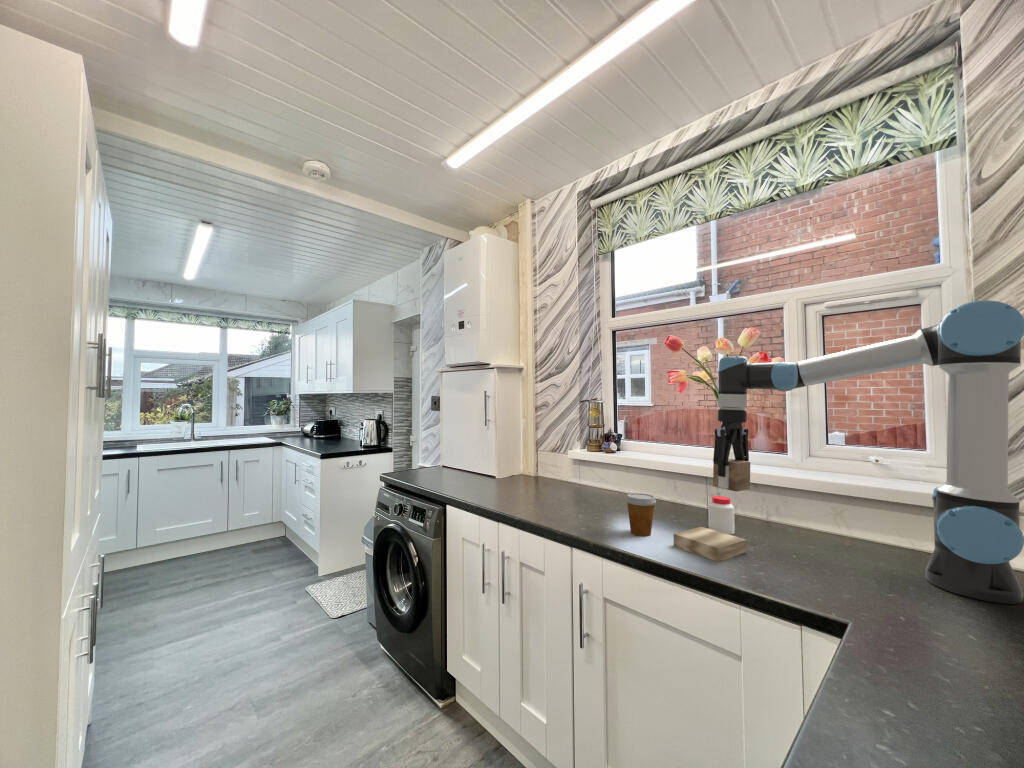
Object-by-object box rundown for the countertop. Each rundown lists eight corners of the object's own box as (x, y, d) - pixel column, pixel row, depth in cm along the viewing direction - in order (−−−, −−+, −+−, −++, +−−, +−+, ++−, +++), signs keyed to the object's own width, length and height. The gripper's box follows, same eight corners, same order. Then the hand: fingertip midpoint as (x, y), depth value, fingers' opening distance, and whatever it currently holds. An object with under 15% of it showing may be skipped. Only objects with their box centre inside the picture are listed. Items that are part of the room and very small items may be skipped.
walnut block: (749, 489, 119) (750, 461, 119) (736, 491, 115) (736, 463, 115) (726, 484, 125) (727, 458, 125) (713, 486, 121) (713, 459, 121)
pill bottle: (732, 536, 131) (731, 501, 132) (706, 531, 136) (706, 497, 136) (736, 530, 137) (735, 497, 138) (711, 525, 142) (711, 494, 143)
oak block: (746, 553, 117) (746, 539, 117) (719, 563, 109) (718, 548, 110) (701, 539, 129) (701, 526, 129) (673, 547, 121) (673, 533, 121)
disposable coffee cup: (652, 529, 137) (652, 493, 138) (659, 538, 127) (659, 500, 128) (623, 528, 138) (623, 492, 138) (628, 537, 128) (628, 498, 129)
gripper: (738, 408, 129) (737, 481, 128) (700, 407, 119) (698, 487, 118) (763, 409, 123) (762, 486, 122) (724, 409, 112) (723, 492, 112)
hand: (731, 486), depth 120 cm, fingers closed on walnut block, 7 cm apart
